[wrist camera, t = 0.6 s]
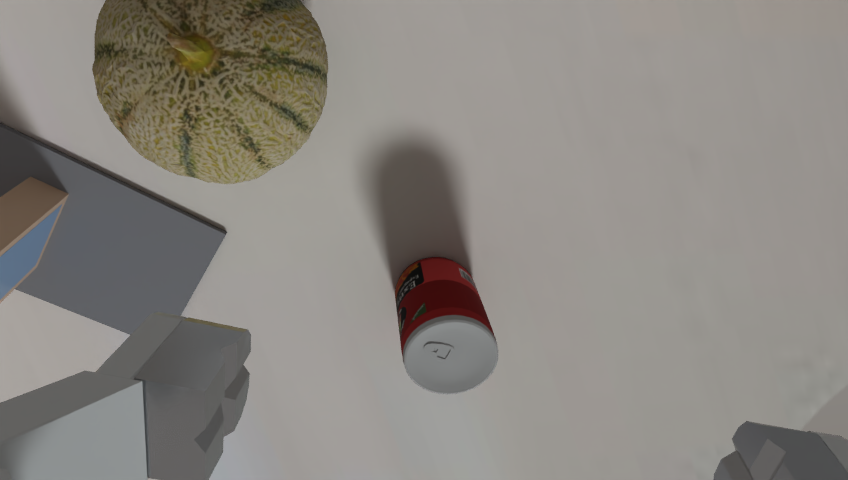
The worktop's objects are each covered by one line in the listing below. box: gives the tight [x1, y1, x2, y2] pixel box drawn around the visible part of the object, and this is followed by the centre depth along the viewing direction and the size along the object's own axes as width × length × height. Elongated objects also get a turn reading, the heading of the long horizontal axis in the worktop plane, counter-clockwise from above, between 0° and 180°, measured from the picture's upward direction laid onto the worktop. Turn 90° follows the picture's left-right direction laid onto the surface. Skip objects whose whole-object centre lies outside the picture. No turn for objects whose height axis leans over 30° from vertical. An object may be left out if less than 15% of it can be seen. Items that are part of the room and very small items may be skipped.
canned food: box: [395, 257, 498, 394], centre depth 51 cm, size 8×8×11 cm
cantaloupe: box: [92, 0, 328, 184], centre depth 38 cm, size 15×15×15 cm
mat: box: [0, 123, 227, 335], centre depth 50 cm, size 20×14×1 cm
